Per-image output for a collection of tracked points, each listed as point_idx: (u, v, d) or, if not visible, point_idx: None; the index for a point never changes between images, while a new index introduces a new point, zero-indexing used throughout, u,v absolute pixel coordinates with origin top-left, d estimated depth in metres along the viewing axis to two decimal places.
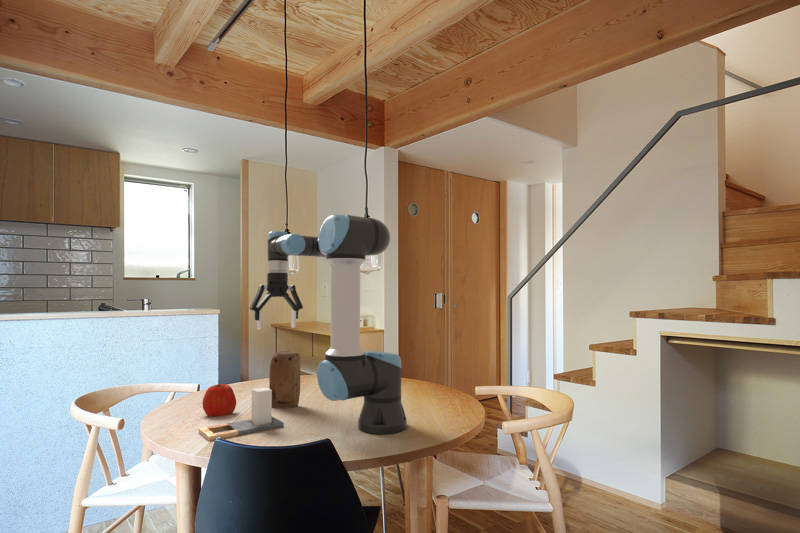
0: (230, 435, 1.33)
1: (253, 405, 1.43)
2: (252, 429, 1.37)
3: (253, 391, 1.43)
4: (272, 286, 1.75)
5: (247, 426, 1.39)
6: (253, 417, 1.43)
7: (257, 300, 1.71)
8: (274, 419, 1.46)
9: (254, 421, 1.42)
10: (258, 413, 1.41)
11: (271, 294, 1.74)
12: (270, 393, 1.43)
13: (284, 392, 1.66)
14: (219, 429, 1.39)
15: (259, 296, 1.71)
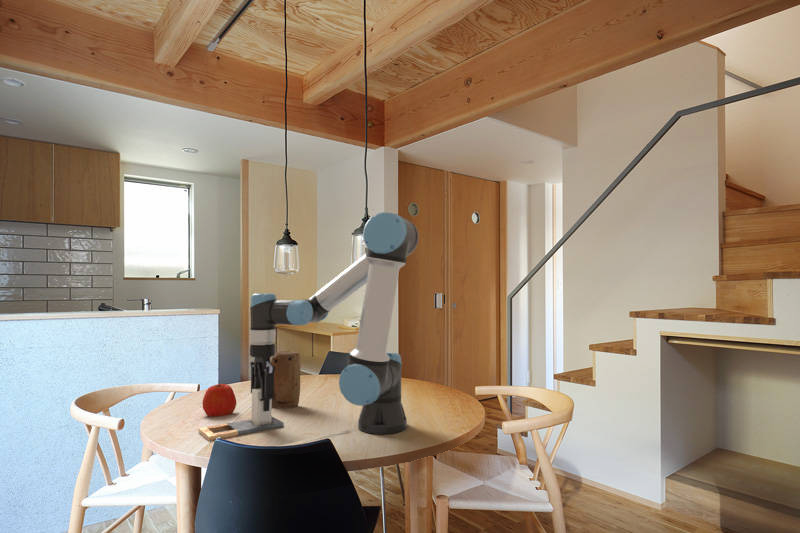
0: (230, 435, 1.33)
1: (253, 405, 1.43)
2: (252, 429, 1.37)
3: (253, 391, 1.43)
4: (255, 359, 1.46)
5: (247, 426, 1.39)
6: (253, 417, 1.43)
7: (251, 381, 1.48)
8: (274, 419, 1.46)
9: (254, 421, 1.42)
10: (258, 413, 1.41)
11: (254, 372, 1.45)
12: None
13: (284, 392, 1.66)
14: (219, 429, 1.39)
15: (251, 376, 1.48)
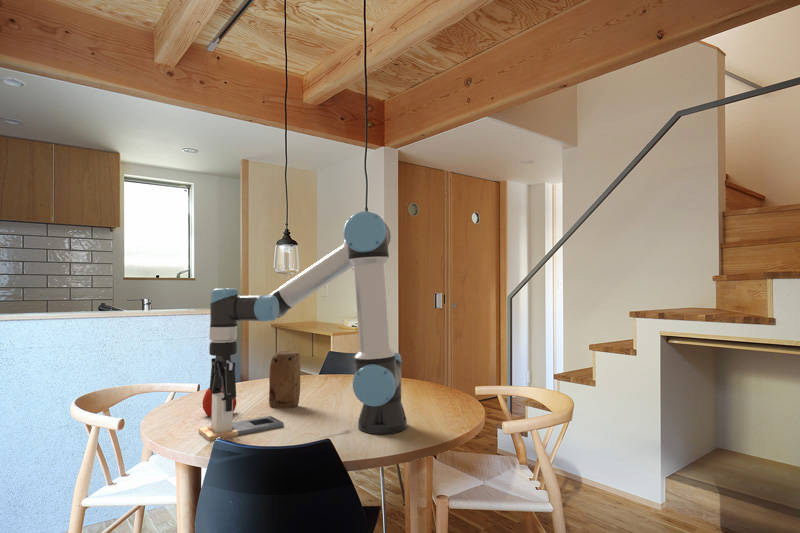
0: (230, 435, 1.33)
1: (213, 411, 1.36)
2: (252, 429, 1.37)
3: (213, 397, 1.36)
4: (216, 358, 1.38)
5: (247, 426, 1.39)
6: (213, 424, 1.35)
7: (211, 378, 1.41)
8: (274, 419, 1.46)
9: (214, 428, 1.34)
10: (217, 420, 1.33)
11: (214, 370, 1.38)
12: None
13: (284, 392, 1.66)
14: None
15: (211, 372, 1.41)
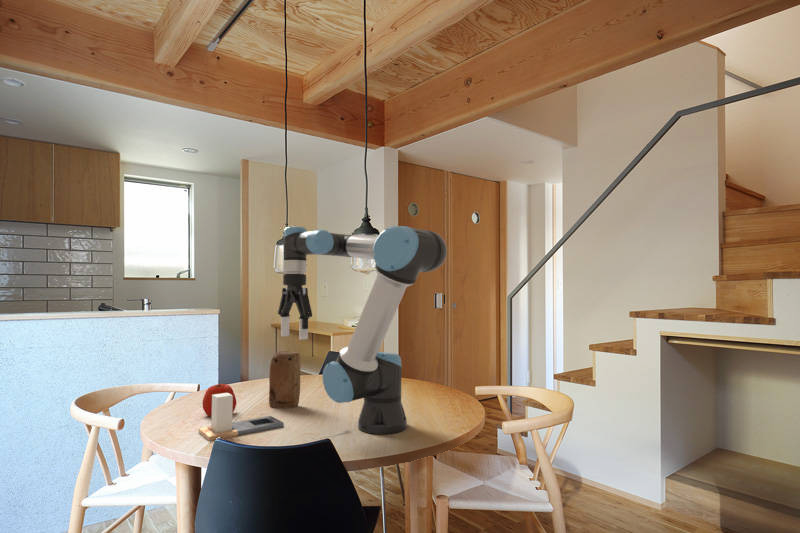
0: (230, 435, 1.33)
1: (213, 411, 1.36)
2: (252, 429, 1.37)
3: (213, 397, 1.36)
4: (288, 289, 1.57)
5: (247, 426, 1.39)
6: (213, 424, 1.35)
7: (280, 304, 1.61)
8: (274, 419, 1.46)
9: (214, 428, 1.34)
10: (217, 420, 1.33)
11: (285, 298, 1.57)
12: (231, 399, 1.36)
13: (284, 392, 1.66)
14: None
15: (281, 300, 1.60)
